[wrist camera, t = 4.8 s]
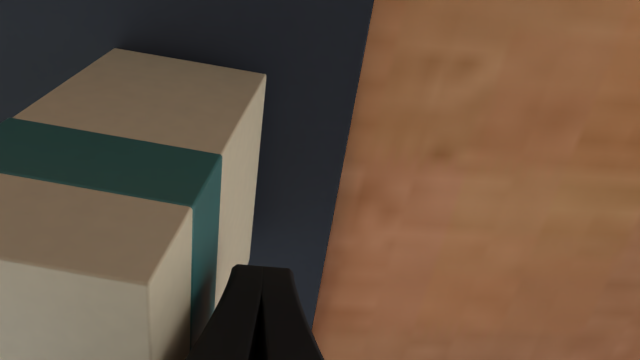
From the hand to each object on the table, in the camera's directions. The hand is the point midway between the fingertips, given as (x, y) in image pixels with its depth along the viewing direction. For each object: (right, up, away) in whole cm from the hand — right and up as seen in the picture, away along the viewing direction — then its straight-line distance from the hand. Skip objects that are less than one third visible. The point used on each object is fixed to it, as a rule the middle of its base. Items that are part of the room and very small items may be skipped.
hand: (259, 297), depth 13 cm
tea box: (-3, +3, +5) cm, 6 cm away
